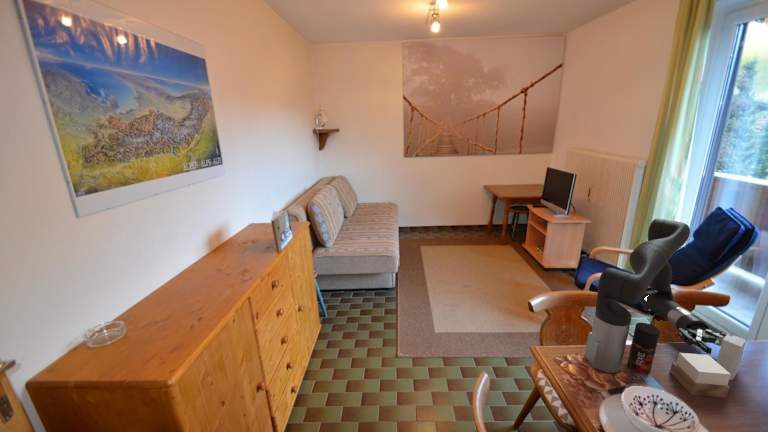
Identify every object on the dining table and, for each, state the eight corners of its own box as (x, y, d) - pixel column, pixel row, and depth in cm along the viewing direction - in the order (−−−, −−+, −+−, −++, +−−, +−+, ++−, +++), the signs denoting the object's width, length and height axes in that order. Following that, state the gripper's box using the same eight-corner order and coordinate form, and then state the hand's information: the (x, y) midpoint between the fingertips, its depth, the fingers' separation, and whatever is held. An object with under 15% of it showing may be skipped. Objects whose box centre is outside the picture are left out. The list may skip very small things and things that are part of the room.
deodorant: (647, 364, 106) (656, 325, 102) (652, 377, 101) (662, 336, 96) (625, 359, 108) (633, 320, 104) (629, 371, 103) (638, 331, 99)
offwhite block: (695, 382, 93) (699, 371, 92) (676, 363, 101) (679, 352, 100) (727, 385, 92) (731, 374, 91) (704, 365, 100) (708, 354, 99)
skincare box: (732, 381, 98) (743, 347, 95) (712, 372, 102) (722, 339, 99) (737, 372, 102) (748, 340, 98) (717, 364, 105) (727, 332, 102)
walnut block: (690, 395, 94) (694, 384, 93) (669, 372, 103) (672, 362, 102) (726, 398, 93) (729, 387, 92) (701, 375, 101) (704, 364, 100)
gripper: (667, 312, 116) (703, 341, 101) (711, 314, 114) (755, 344, 99) (662, 330, 119) (697, 360, 103) (706, 332, 116) (748, 364, 101)
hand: (725, 352), depth 101 cm, fingers open, 8 cm apart
